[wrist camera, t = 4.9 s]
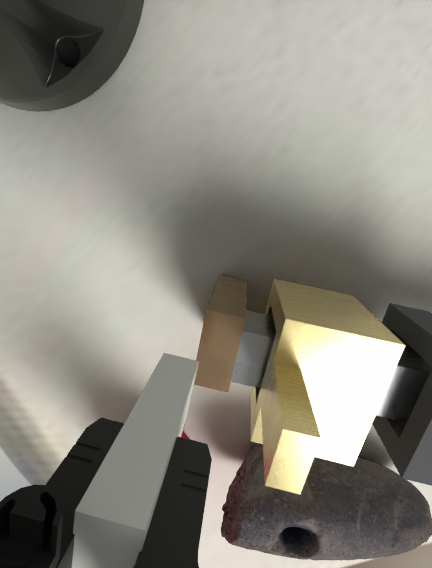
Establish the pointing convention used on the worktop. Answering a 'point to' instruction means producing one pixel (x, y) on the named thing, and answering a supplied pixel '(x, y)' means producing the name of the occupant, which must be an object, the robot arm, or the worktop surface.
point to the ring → (428, 409)
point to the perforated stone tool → (326, 512)
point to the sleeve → (319, 381)
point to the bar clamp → (258, 343)
